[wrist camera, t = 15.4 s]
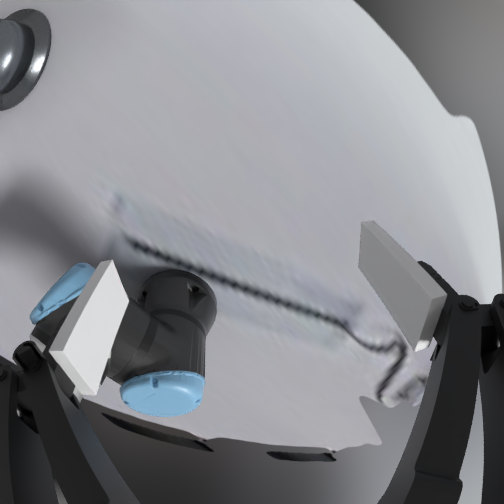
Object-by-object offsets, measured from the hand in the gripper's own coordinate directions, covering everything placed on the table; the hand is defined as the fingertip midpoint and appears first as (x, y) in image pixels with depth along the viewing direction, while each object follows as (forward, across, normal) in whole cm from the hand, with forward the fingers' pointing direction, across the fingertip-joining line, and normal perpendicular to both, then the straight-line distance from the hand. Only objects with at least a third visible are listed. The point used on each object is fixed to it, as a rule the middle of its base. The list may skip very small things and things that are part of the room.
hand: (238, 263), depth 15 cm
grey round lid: (+31, +36, -29) cm, 56 cm away
